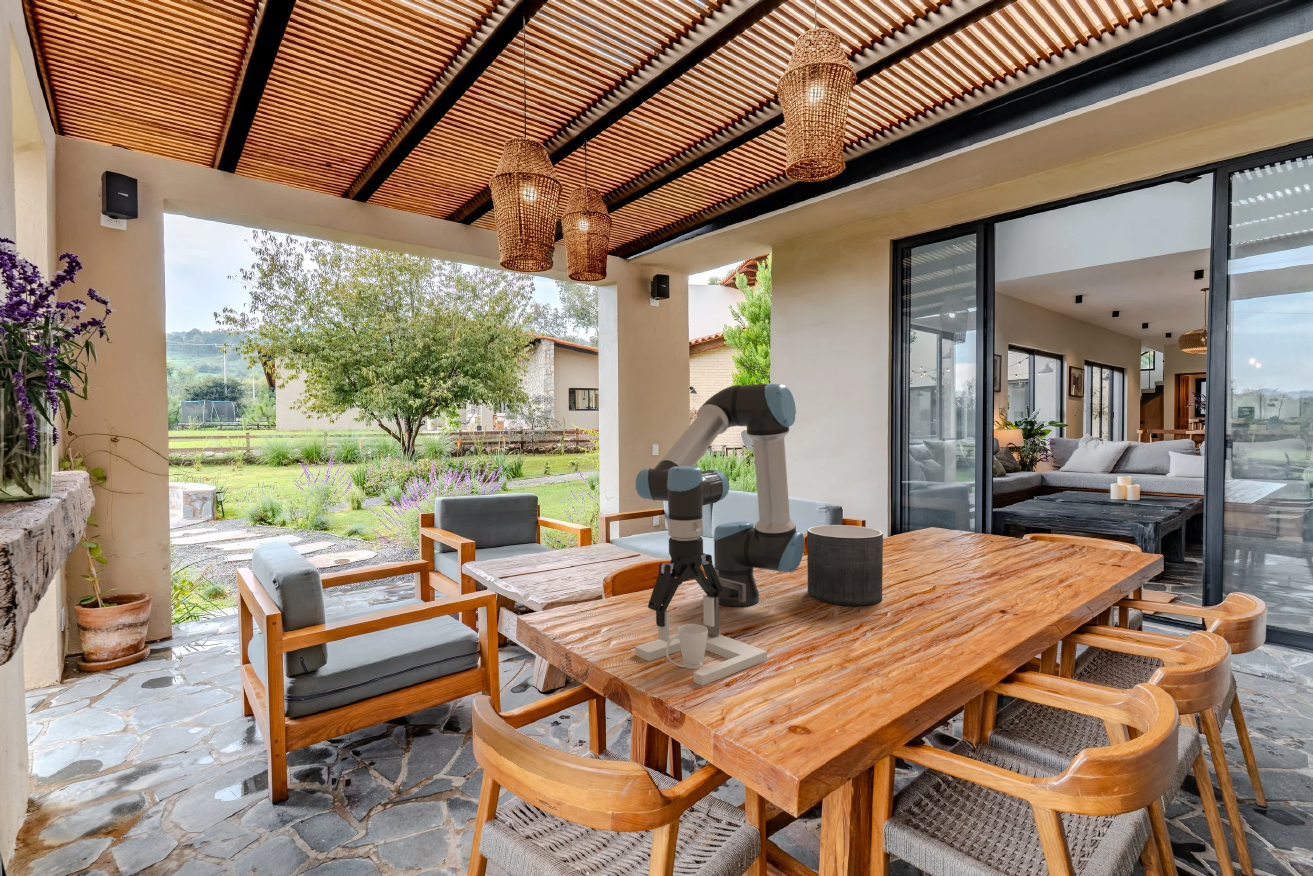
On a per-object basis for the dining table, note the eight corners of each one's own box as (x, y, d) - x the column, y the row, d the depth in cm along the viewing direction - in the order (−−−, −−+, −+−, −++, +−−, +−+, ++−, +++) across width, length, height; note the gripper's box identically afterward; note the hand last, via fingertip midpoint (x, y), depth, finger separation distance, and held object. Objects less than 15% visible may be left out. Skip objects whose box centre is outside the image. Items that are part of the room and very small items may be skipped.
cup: (714, 668, 134) (714, 631, 134) (673, 676, 130) (673, 638, 130) (699, 656, 141) (699, 621, 141) (659, 664, 137) (659, 628, 136)
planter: (881, 589, 196) (882, 527, 195) (883, 610, 175) (883, 539, 174) (810, 584, 203) (810, 523, 202) (803, 603, 182) (803, 535, 181)
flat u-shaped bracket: (635, 655, 142) (635, 646, 142) (698, 634, 155) (698, 626, 155) (702, 686, 125) (702, 676, 125) (767, 660, 139) (767, 651, 139)
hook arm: (707, 635, 149) (706, 570, 148) (712, 634, 150) (712, 568, 150) (741, 648, 140) (741, 578, 140) (747, 646, 142) (747, 577, 141)
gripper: (653, 549, 124) (655, 652, 125) (737, 531, 140) (738, 623, 141) (630, 543, 129) (632, 642, 130) (713, 526, 146) (714, 615, 147)
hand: (687, 632), depth 136 cm, fingers open, 13 cm apart
